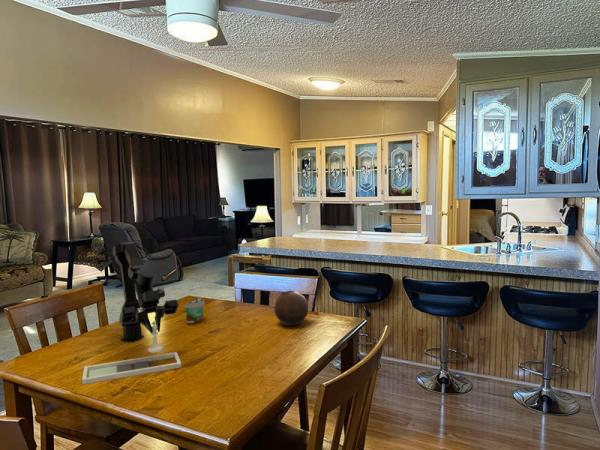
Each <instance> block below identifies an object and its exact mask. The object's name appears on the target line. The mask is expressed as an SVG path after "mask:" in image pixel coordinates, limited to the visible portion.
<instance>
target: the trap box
mask: <svg viewBox="0 0 600 450" xmlns="http://www.w3.org/2000/svg"><path fill="white" fill-rule="evenodd" d="M173 358H174V361H175V362H173V363H172V362H171V363H168V364H160V365H156V366H150V362H155V361H161V360H166V359H167V360H168V359H173ZM113 366H116V367H117V371H116V372H117V373H113V374H107V375H101V376H95V377H89V376H88V375H89V371H90V370H95V369H101V368H107V367H113ZM133 366H134V367H133ZM180 368H182V362H181V359H180V357H179V354H178V352H177V351H175V352H169V353H163V354H157V355H156V354H154V355H150V356H149V355H148V356H143V357H138V358H131V359H125V360H119V361H118V360H117V361H112V362H105V363H99V364H93V365H87V366H86V365H85V366H83V373H82V380H81V381H82V385H88V384H94V383H99V382H104V381H110V380H117V379H121V378H122V379H123V378H127V377H133V376H139V375H140V376H141V375H145V374H151V373H156V372H163V371H168V370H174V369H180Z"/></svg>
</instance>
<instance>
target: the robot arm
mask: <svg viewBox="0 0 600 450" xmlns="http://www.w3.org/2000/svg"><path fill="white" fill-rule="evenodd" d="M112 255H113V257H114V258H115V259H114V260H115V262H116V263H117V264H118V265H119V267H120V274H121V281H122V282H121V283H122V290H123V297H124V302H123V304H122V307H121V311H120V315H119V318H118V319H119V325H120V326H121V327H122V329H123V330H122V331H123V337H121V338H120V340H121V341H127V342H135V341H137V340H139V339H142V338H144V335H143V334H142V327H141V325H142V326H144V328H146V330H147V331H148V332H149V333H150V334H152V333H153V330H152V326H153V325H152V322H151V321H150V318H149V314H152V313H154V321H155V323H156V325H155V326H157V333H159V332H160V331H161V322H162V318H164V316H165V315H174V314H176V313H177V310H178V308H179V305H180V304H179V302H178V300H176V299H170V300H165V302H164V304H162V305H161V304H160V300H161V298H164V297H165V296H166V293H165V291H166V290H165V289H164V287H158V288H157V289H154V288H153V284H154V283H155V280H156V277H157V272H158V269H157V267H156V266H155V265H153V264H150V262H149V261H147V260H146V259H142V257H141V255H140V253H139V250H138V248H137V243H136V241H134V240H126V241H122V242H121V243H119V244H116V245H114V246H113V247H112ZM159 304H160V305H159Z"/></svg>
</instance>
